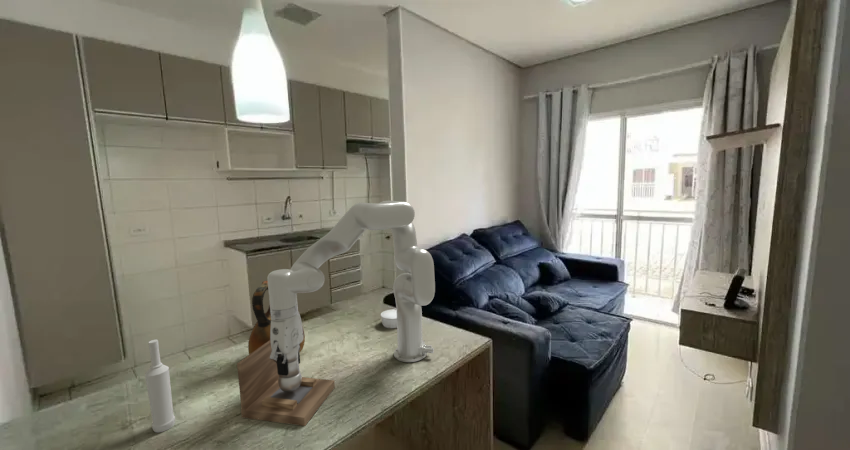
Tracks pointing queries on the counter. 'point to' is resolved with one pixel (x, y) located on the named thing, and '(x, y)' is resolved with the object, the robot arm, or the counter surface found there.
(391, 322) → the ramekin
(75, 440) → the counter surface
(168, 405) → the bottle
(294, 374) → the plastic bottle
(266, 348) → the display stand
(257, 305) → the ceramic pitcher
